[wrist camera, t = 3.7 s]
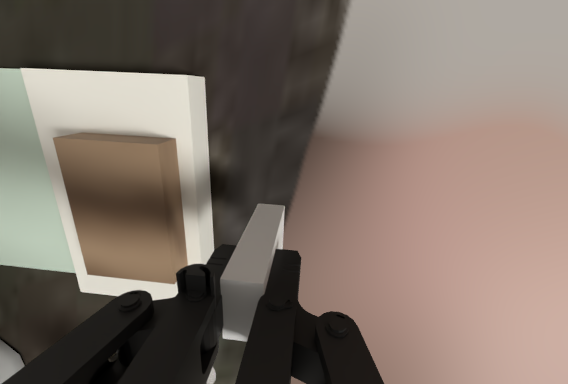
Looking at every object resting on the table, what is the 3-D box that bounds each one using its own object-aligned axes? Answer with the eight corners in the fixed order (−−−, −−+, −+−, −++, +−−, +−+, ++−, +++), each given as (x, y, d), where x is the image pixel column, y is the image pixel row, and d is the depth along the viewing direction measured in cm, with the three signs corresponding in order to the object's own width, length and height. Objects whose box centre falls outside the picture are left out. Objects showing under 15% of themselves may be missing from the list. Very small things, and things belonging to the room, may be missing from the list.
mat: (98, 271, 24) (94, 274, 23) (-21, 258, 25) (-27, 261, 24) (51, 70, 18) (44, 70, 18) (-101, 63, 19) (-111, 63, 19)
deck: (215, 284, 23) (204, 306, 21) (103, 272, 24) (80, 291, 21) (204, 77, 17) (187, 75, 15) (58, 70, 18) (20, 67, 16)
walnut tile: (187, 265, 19) (174, 284, 18) (108, 257, 20) (87, 274, 18) (175, 138, 16) (157, 144, 14) (81, 132, 17) (52, 137, 15)
